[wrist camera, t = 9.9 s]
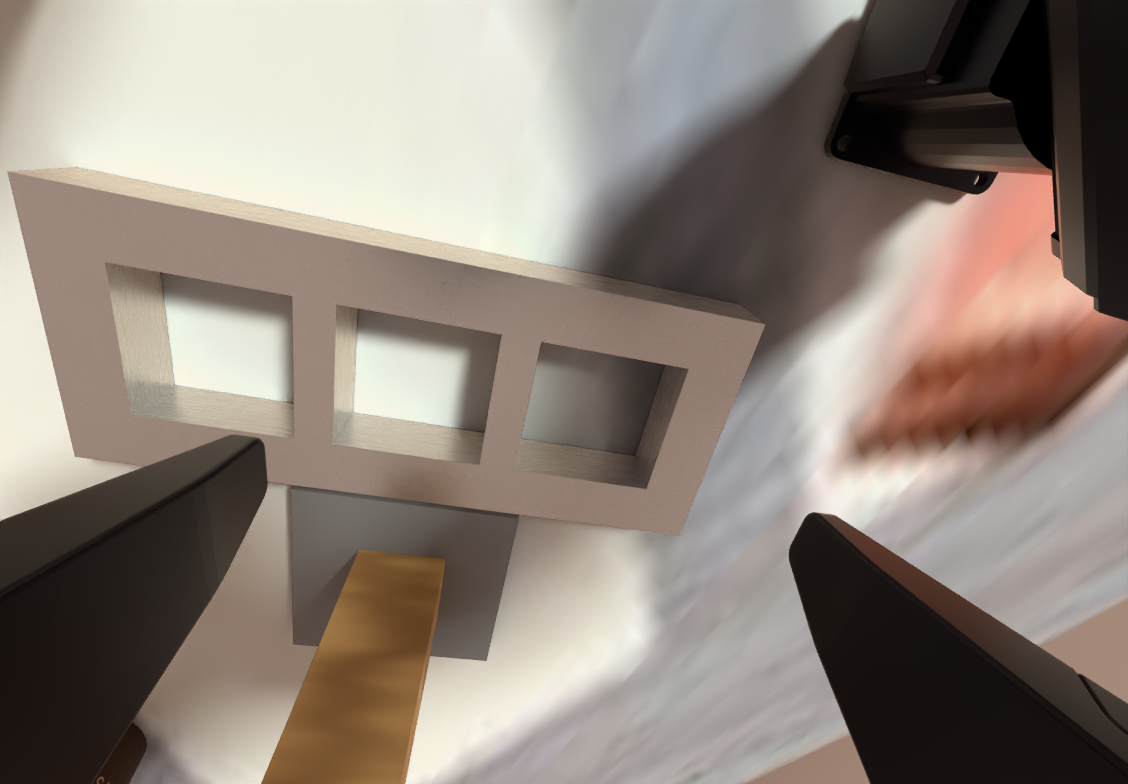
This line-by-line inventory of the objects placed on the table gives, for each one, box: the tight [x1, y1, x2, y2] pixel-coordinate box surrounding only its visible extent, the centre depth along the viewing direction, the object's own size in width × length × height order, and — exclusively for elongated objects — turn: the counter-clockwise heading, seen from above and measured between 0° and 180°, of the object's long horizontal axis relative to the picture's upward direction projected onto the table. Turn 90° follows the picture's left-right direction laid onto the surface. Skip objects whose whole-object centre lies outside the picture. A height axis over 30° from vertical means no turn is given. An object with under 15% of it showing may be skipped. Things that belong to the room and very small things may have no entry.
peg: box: [261, 550, 445, 784], centre depth 20 cm, size 4×4×10 cm
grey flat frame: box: [7, 167, 766, 536], centre depth 20 cm, size 24×10×2 cm, turn 78°
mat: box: [290, 485, 519, 661], centre depth 25 cm, size 10×10×1 cm
